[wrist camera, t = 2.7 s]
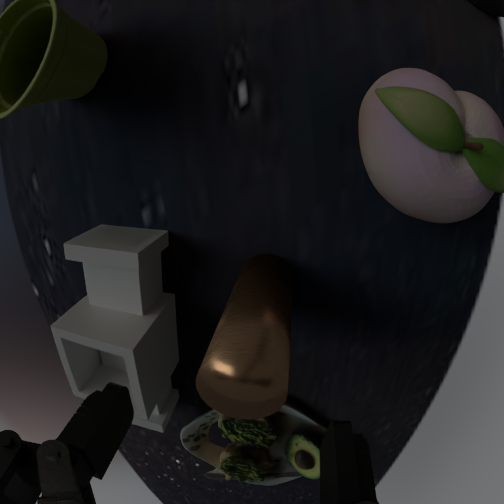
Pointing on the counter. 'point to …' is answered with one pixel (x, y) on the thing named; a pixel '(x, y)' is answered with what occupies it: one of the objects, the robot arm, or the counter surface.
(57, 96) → the plant pot
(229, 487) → the counter surface
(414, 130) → the decorative fruit
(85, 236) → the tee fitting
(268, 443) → the salad plate
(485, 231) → the counter surface
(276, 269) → the brown rounded rod
